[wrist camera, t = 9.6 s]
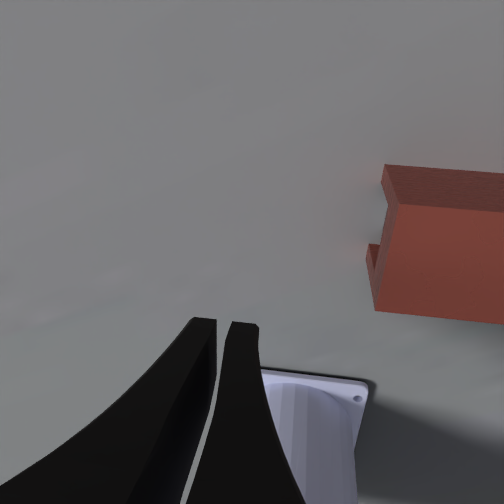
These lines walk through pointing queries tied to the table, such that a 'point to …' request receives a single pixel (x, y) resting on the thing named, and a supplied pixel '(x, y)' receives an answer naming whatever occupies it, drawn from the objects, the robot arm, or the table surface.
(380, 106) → the table surface
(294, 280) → the table surface
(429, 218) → the red notched block
